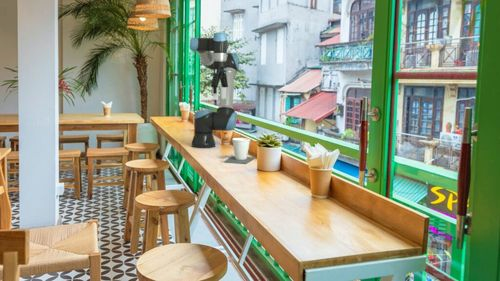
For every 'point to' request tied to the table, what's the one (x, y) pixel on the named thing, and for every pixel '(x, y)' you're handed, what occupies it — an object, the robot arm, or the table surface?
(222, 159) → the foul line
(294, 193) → the table surface
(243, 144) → the cup
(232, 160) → the mat
